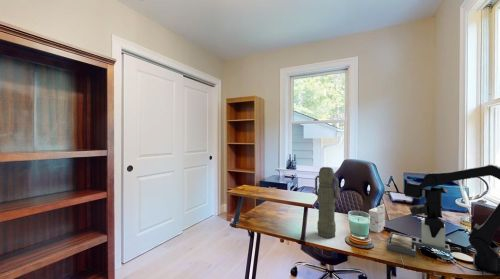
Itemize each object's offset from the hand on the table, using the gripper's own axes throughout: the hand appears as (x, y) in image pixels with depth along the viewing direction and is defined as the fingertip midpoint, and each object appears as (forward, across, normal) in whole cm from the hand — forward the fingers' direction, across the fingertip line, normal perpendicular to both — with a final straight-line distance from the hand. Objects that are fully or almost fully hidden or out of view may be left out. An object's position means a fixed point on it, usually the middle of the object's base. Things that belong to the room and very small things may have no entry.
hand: (433, 236), depth 97 cm
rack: (+7, +4, -5) cm, 10 cm away
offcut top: (+2, +9, -11) cm, 14 cm away
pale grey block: (+4, 0, 0) cm, 4 cm away
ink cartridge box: (+7, -9, -23) cm, 26 cm away
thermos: (+7, +12, -43) cm, 45 cm away
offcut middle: (+4, +9, -11) cm, 15 cm away
